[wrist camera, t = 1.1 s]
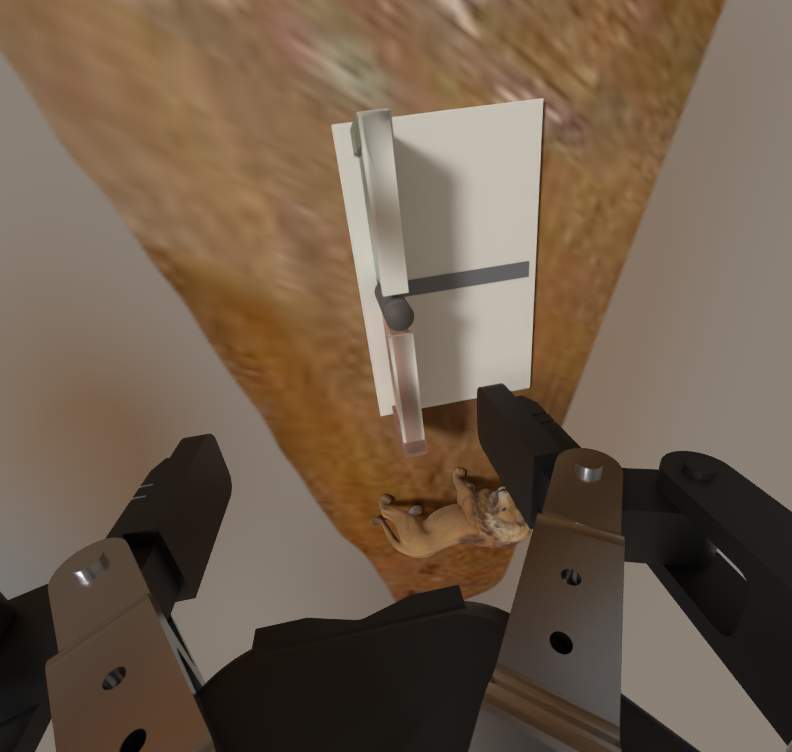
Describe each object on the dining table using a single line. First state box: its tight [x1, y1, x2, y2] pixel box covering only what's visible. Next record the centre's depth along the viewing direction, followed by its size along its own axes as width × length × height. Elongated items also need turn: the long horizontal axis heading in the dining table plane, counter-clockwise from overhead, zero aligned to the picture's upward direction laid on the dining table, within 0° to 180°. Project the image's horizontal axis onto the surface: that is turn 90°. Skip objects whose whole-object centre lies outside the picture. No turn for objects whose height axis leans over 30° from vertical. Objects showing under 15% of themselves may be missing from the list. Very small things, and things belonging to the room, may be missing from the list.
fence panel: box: [382, 314, 428, 458], centre depth 29 cm, size 10×2×6 cm, turn 7°
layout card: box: [331, 98, 543, 416], centre depth 30 cm, size 22×14×1 cm, turn 7°
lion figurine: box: [371, 468, 532, 558], centre depth 36 cm, size 15×5×9 cm, turn 116°
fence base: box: [350, 108, 414, 331], centre depth 24 cm, size 12×2×6 cm, turn 7°
